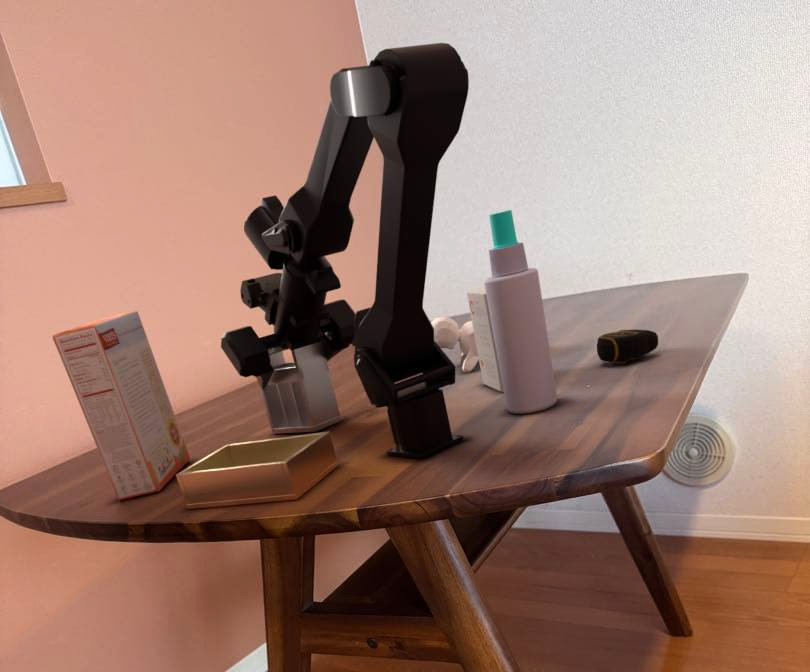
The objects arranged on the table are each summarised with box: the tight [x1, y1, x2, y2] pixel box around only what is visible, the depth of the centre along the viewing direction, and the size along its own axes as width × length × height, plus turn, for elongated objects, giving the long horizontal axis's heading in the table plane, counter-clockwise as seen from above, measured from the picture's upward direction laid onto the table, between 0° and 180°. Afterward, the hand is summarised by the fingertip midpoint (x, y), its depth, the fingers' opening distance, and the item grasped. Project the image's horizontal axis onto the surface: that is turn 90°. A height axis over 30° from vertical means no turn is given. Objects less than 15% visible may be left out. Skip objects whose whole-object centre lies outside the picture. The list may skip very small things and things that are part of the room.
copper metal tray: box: [175, 430, 339, 510], centre depth 86 cm, size 14×10×4 cm
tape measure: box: [596, 329, 659, 365], centre depth 103 cm, size 7×7×4 cm
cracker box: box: [52, 310, 191, 501], centre depth 98 cm, size 14×6×21 cm, turn 178°
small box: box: [466, 286, 504, 393], centre depth 105 cm, size 8×6×13 cm
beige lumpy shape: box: [430, 316, 479, 374], centre depth 123 cm, size 9×8×15 cm
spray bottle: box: [483, 209, 558, 415], centre depth 88 cm, size 6×6×22 cm
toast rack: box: [258, 341, 342, 435], centre depth 108 cm, size 9×5×12 cm, turn 52°
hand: (286, 378), depth 109 cm, fingers closed on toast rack, 8 cm apart
